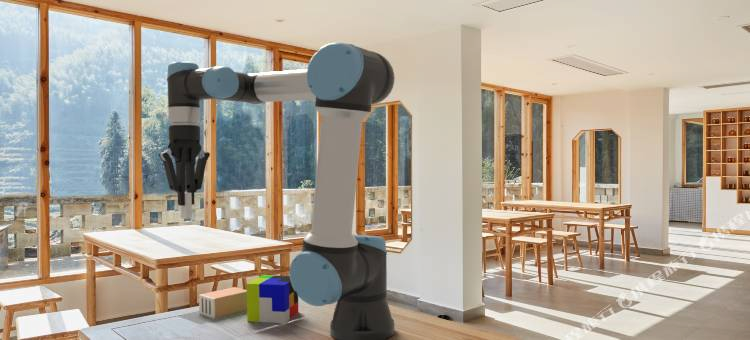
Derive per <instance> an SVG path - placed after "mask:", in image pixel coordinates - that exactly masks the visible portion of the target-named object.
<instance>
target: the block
mask: <svg viewBox="0 0 750 340" xmlns="http://www.w3.org/2000/svg"><path fill="white" fill-rule="evenodd" d="M198 307H199V310H198V311H199V313H200V314H202V315H205V316H208V317H211V318H217V317H221V316H225V315H229V314H233V313H237V312H241V311H245V310H247V289H243V288H240V287H235V286H232V287H228V288H224V289H220V290H219V289H218V290H215V291H209V292H205V293H200V294H199V295H198Z"/></svg>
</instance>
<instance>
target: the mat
mask: <svg viewBox="0 0 750 340" xmlns="http://www.w3.org/2000/svg"><path fill="white" fill-rule="evenodd" d="M245 313H246V314H247V310H245V311H241V312H237V313H233V314H229V315H225V316H221V317H217V318H211V317H208V316H205V315H202V314H200V313H199V310H198V311H194V312H191V313H186V314H182V315H178V316H177V317H179V318H182V319H185V320H187V321H190V322H192V323H195V324H198V325H203V324H207V323H212V322H214V321H219V320H223V319H226V318H231V317H234V316H239V315H241V314H245Z"/></svg>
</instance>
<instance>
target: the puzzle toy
mask: <svg viewBox="0 0 750 340" xmlns="http://www.w3.org/2000/svg"><path fill="white" fill-rule="evenodd" d="M246 290H247V312H246V320H247V322H255V323H256V322H258V323H276V324H277V325H278V326H282V325H283V326H285V325H286V324H288V323H289V322H291V318H293V317H294V316H295V315H296V314H298V313H299V296H298V294H297V292H296V291H294V289H293V287H292V284H291V281H290V275H267V274H263V275H260V276H258V277H256V278H254V279H252V280H250V281H249V282H247V283H246Z"/></svg>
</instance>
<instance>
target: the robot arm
mask: <svg viewBox="0 0 750 340" xmlns="http://www.w3.org/2000/svg"><path fill="white" fill-rule="evenodd" d="M166 82H167V106H168V107H167V109H168V113H167V115H168V123H169V124H170V125H169V126H168V141H169V142H168V143H169V144H168V146H167V149H166V150H164V151H163V152H159V154H158V156H159V158H160V160H161V161H162V164H163V167H164V171H165V176H166V178H167V179H166V180H167V183H168V188H169V190H170V191H174V192H175V193H177V205H178V206H180V219H183V220H190V219H193V205H194V204H195V193H196V192H197V191H198V190H201V189H202V187H203V181H204V175H205V171H206V165H207V162H208V159H209V157H210V156H211V153H210V152H207V151H205V150H203V149H202V145H201V142H200V141H201V127H200V125H198V124H200V123H201V112H200V111H201V109H200V101H203V100H217V101H218V100H220V101H227V102H240V103H247V104H250V105H251V104H252V105H255V104H256V105H261V104H265V103H271V102H273V103H274V102H296V101H297V102H298V101H315V103H314V109H315V110H316V111H317V113H318V114H319V115H320V129H319V138H318V139H319V142H318V150H317V151H318V153H317V163H316V164H317V165H316V173H315V185H314V194H313V196H314V197H313V206H312V207H313V210H312V216H311V217H312V219H311V227H310V230H309V232H307V233H306V234H305V235H303V237H302V238H303V239H302V249H301V252H299V253H298V254H297V255H296V256H295V257H294V258H293V259H292V260H291V263H290V266H289V270H288V271H289V275H288V276H290V281H291V284H292V287H293V289H294V291H296V292H297V294H298V298H299V299H301V300H302V301H303V302H305V303H306V304H308V305H310V306H314V307H323V306H326V305H333V304H335V303H336V304H335V307H334V311H333V316H332V320H331V321H330V326H329V328H330V329H329V331H330V332H329V333H330V336H331V337H332V338H333V339H336V340H387V339H389V338H391V337H392V336H394V334H395V330H396V329H395V325H396V324H395V321H394V320H395V319H393V318H392V314H391V310H390V309H391V308H390V307H389V303H388V298H387V297H388V296H387V295H388V294H387V284H388V283H387V282H388V281H387V278H388V277H387V275H388V274H387V272H388V271H387V255H388V251H387V246H386V245H387V244H386V240H385V238H383V237H381V236H379V235H377V236H376V235H365V234H364V235H363V234H353V224H354V214H355V213H354V212H355V203H356V192H357V183H358V182H357V181H358V173H359V172H358V171H359V170H358V169H359V163H360V150H361V140H362V131H363V121H365V119H366V118H367V117H368V116H370V115H371V114H372V113H371V112H372V105H376V104H379V103H381V102H383V101H385V100H386V99H387V98H388V96H389V95H391V93H392V90H393V88H394V85H395V72H394V68H393V67H392V65H391V62H390V61H389V60H388V59H387V58H386V57H385V56H383V55H382V54H380V53H379V52H375V51H373V50H371V51H370V50H368V49H366V48H362V47H359V46H357V45H354V44H352V43H347V42H346V43H344V42H331V43H327V44H324V45H323V46H321V47H320V48H319V49H318V51H316V52H315V53H314V54H313V56H312V57H311V58H310V60H309V62H308V65H307V69H306V68H305V69H295V70H294V69H293V70H292V69H291V70H282V71H269V72H268V71H266V72H255V73H253V72H252V73H249V72H248V73H246V72H239V71H235V70H233V69H232V68H231V67H230V66H226V65H223V66H222V65H221V66H219V65H215V66H211V67H205V68H200V67H199V65H198V63H195V62H191V61H174V62H171V63H169V65H168V66H167V78H166ZM172 157H173V159H174V163H173V160H172ZM197 158H198V159H197ZM196 160H197V161H196ZM174 164H175V166H174Z"/></svg>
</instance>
